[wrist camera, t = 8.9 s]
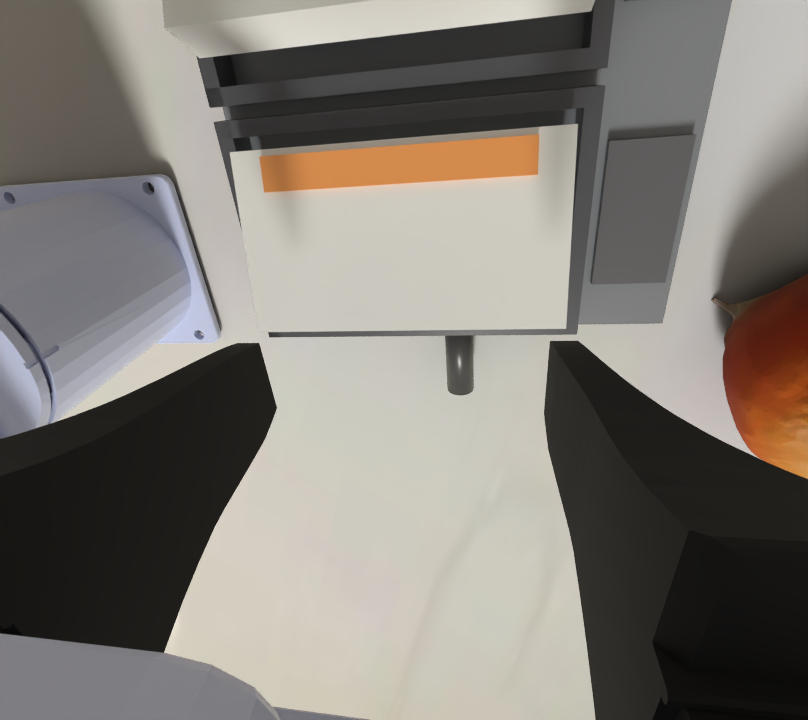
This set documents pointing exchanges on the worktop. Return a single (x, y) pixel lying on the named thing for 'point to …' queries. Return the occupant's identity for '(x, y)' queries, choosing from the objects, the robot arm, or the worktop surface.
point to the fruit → (770, 374)
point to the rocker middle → (334, 20)
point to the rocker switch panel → (513, 109)
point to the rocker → (411, 232)
